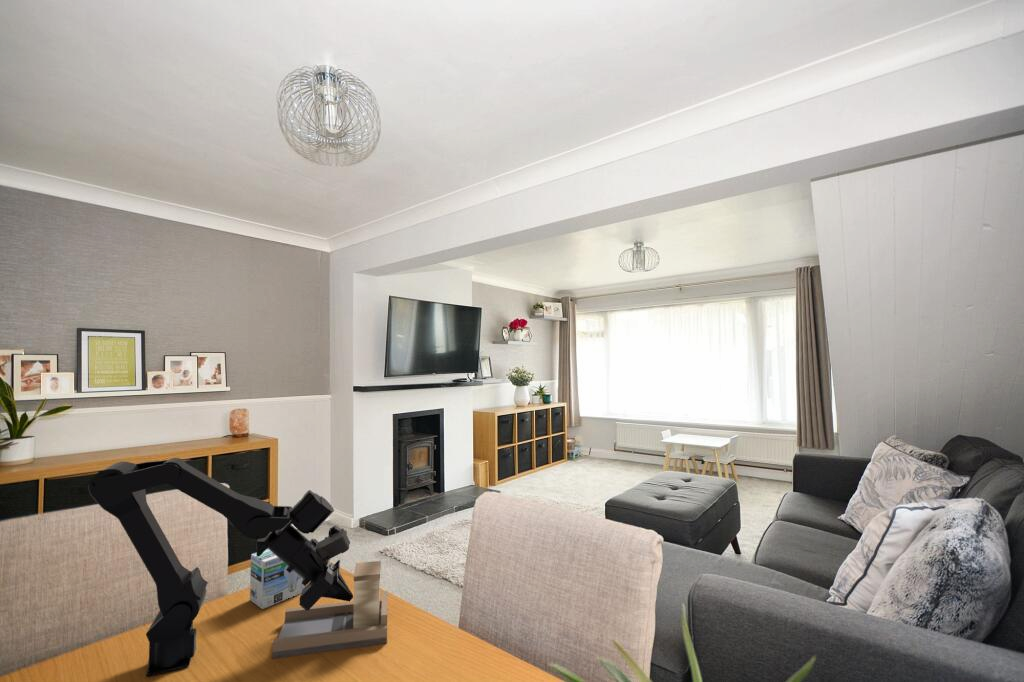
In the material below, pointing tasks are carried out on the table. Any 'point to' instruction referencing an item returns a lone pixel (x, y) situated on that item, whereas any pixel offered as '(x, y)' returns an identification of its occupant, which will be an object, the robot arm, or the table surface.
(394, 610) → the table surface
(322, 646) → the box
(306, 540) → the robot arm
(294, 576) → the light bulb box
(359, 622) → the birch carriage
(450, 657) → the table surface
